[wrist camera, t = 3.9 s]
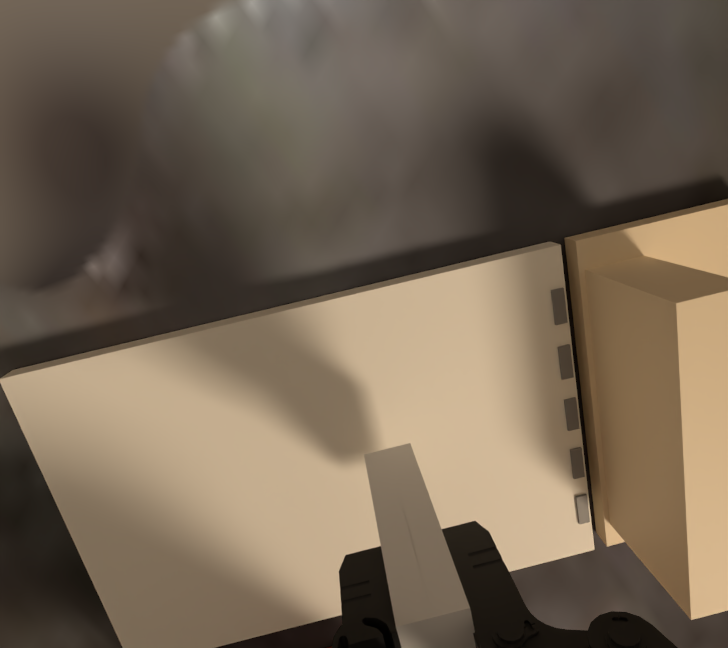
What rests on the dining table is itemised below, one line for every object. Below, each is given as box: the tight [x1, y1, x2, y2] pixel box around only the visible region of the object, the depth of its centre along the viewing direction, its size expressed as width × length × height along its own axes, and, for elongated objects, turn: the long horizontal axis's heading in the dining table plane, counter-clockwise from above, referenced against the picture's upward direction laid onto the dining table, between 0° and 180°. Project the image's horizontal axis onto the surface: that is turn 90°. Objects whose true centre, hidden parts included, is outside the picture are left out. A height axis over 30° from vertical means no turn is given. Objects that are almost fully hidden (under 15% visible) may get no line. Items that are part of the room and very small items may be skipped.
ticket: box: [0, 241, 594, 648], centre depth 19 cm, size 18×12×1 cm, turn 102°
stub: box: [564, 199, 728, 620], centre depth 17 cm, size 6×12×5 cm, turn 12°
